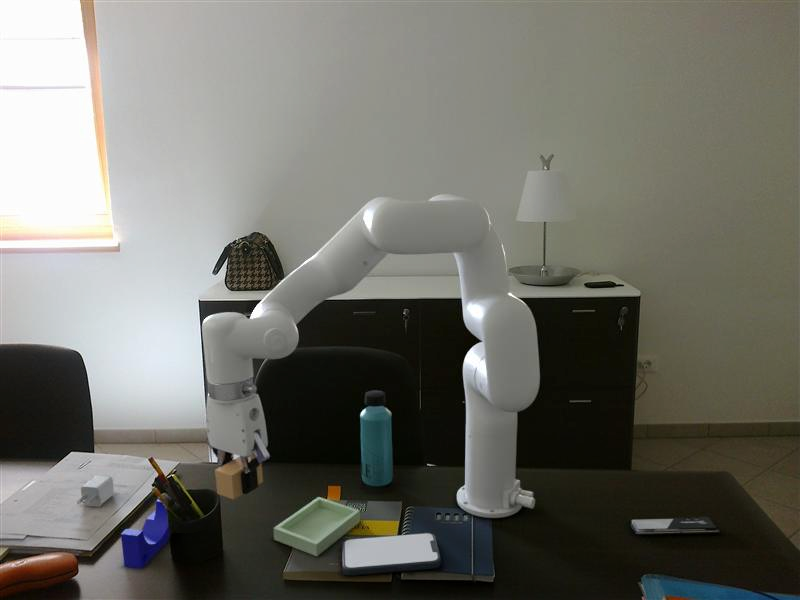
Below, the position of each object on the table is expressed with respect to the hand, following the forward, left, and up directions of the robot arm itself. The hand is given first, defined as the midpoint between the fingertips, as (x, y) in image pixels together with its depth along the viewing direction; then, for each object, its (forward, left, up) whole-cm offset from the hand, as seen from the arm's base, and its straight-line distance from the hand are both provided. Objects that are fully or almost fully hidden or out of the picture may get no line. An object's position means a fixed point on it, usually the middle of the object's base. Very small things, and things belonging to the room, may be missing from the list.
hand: (240, 486), depth 117 cm
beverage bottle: (-10, -28, -10) cm, 31 cm away
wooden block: (0, 0, 0) cm, 0 cm away
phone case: (-25, -8, -10) cm, 29 cm away
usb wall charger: (+33, +6, -10) cm, 35 cm away
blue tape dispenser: (+12, +10, -10) cm, 19 cm away
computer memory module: (-64, -42, -10) cm, 77 cm away
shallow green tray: (-10, -9, -10) cm, 16 cm away
